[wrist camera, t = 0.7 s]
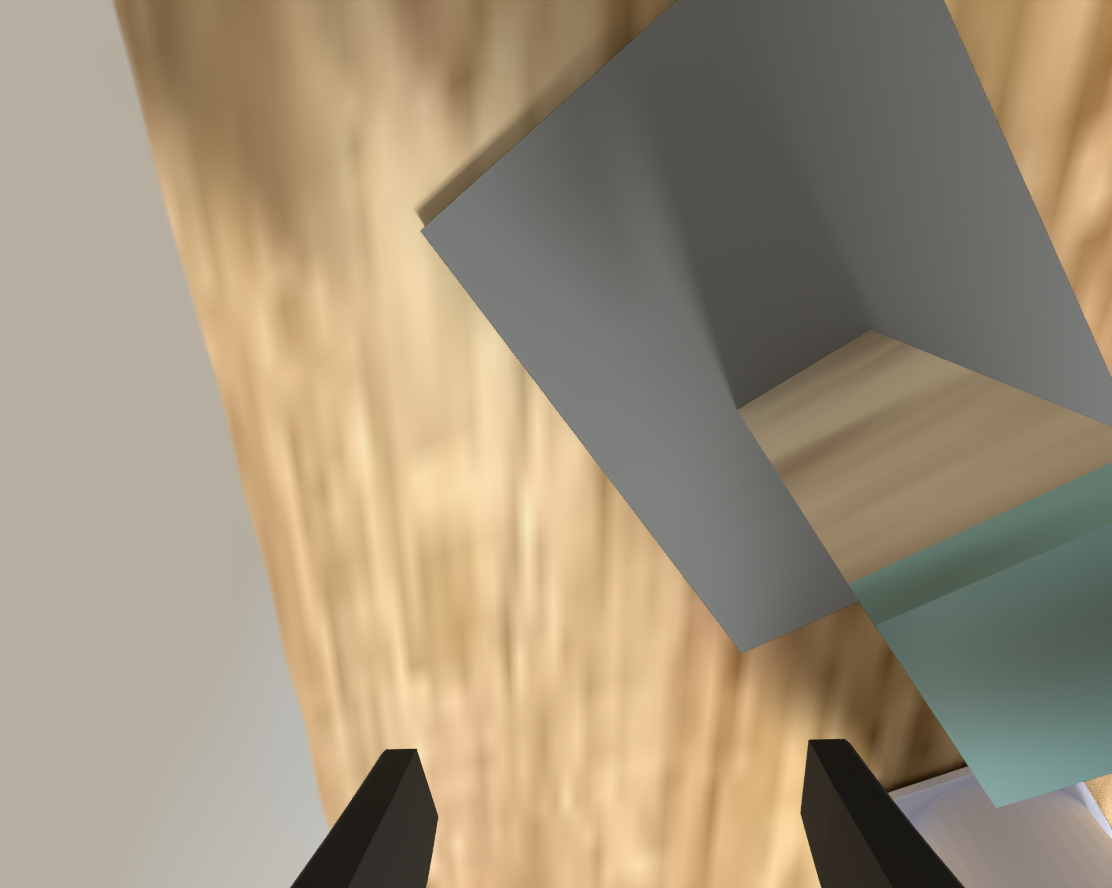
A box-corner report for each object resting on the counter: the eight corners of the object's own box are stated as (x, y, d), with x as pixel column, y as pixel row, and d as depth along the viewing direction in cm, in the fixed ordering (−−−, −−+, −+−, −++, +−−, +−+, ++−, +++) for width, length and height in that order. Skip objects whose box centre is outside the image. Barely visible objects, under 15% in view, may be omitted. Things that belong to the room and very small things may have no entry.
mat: (1134, 461, 17) (1152, 469, 17) (738, 642, 21) (741, 653, 21) (856, -154, 13) (867, -172, 12) (426, 230, 17) (420, 230, 16)
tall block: (933, 443, 17) (1322, 709, 8) (803, 511, 18) (995, 807, 9) (870, 329, 16) (1226, 473, 7) (737, 410, 17) (875, 626, 8)
